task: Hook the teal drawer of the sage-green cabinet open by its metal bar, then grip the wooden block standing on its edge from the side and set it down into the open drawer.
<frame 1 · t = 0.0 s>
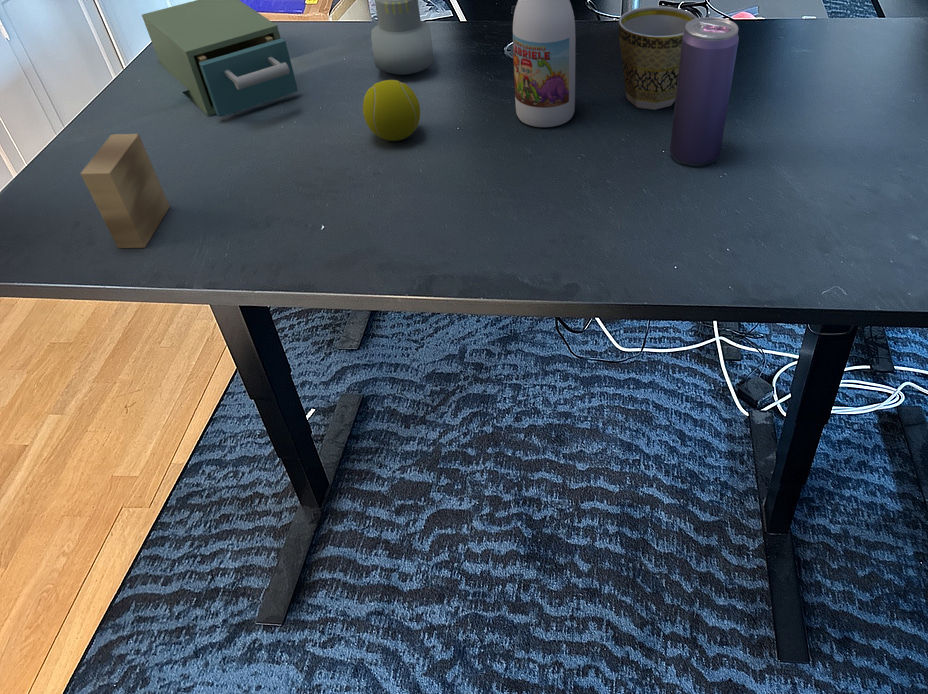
drawer: (235, 65, 104), point 4 cm above the table, slide at 2.0 cm
air freshener: (406, 68, 113), on the table
beverage can: (694, 157, 93), on the table
milk bottle: (545, 116, 101), on the table
cabinet: (227, 82, 111), on the table
wooden block: (144, 227, 86), on the table
ceramic cup: (654, 94, 105), on the table
tennis ball: (396, 138, 98), on the table
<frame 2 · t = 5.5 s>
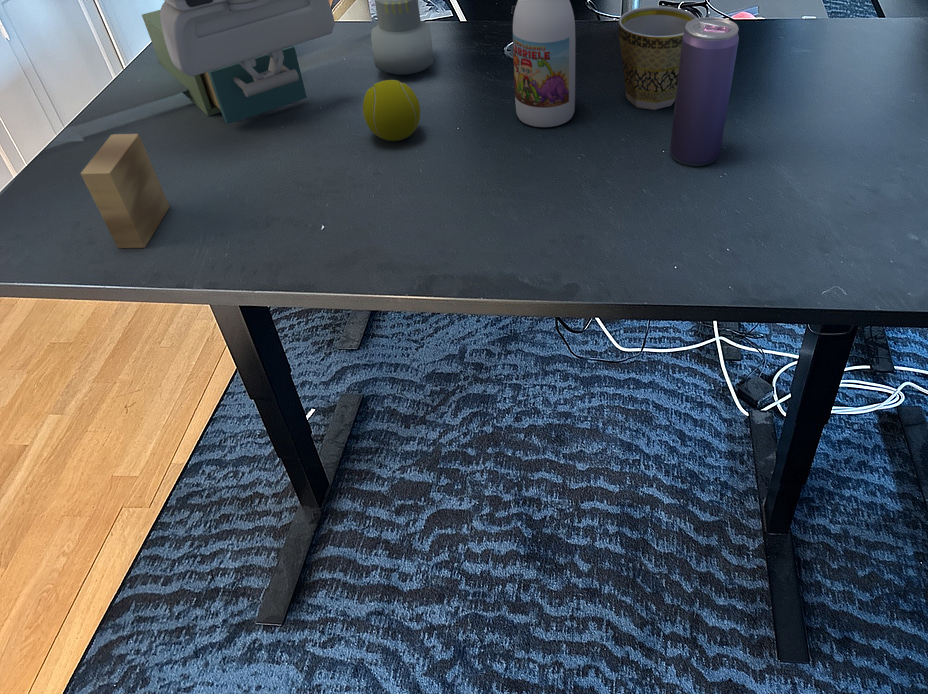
hand: (269, 88, 98), 5 cm above the table, tool pointing down, fingers closed, pressing on drawer
drawer: (244, 72, 103), point 4 cm above the table, slide at 4.7 cm, touching gripper
everything else where it was.
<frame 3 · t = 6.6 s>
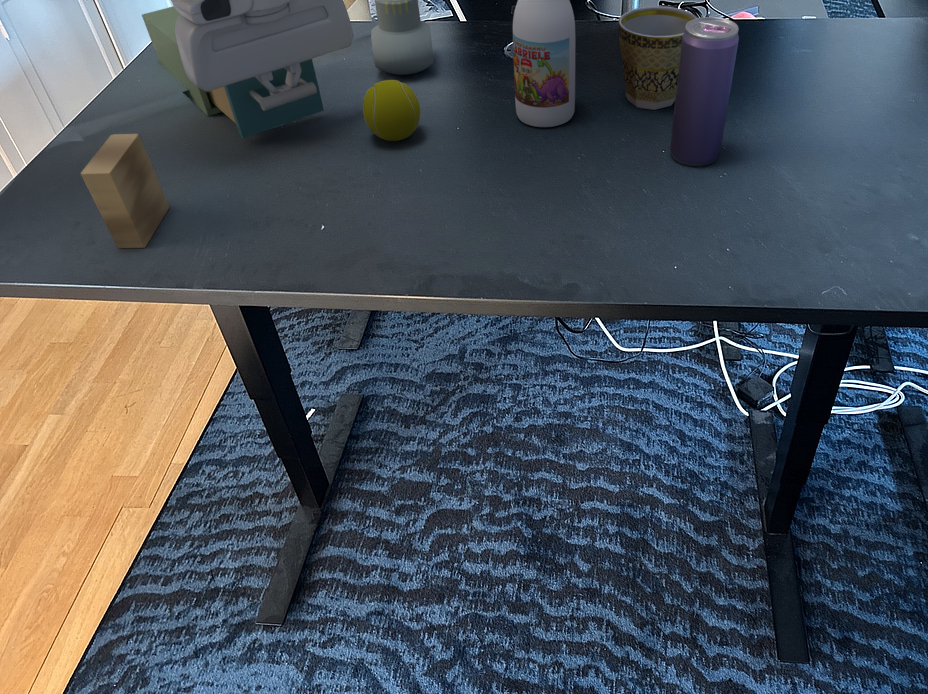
hand: (286, 102, 95), 5 cm above the table, tool pointing down, fingers closed, pressing on drawer
drawer: (259, 84, 100), point 4 cm above the table, slide at 9.6 cm, touching gripper
everything else where it was.
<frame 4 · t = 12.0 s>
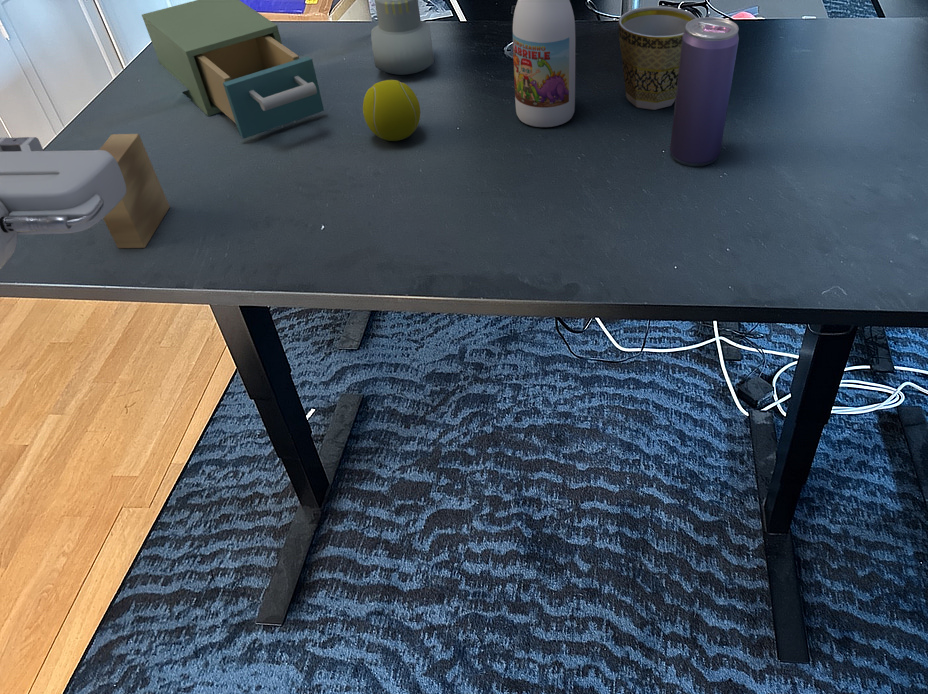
hand: (24, 145, 66), 16 cm above the table, tool horizontal, fingers closed
drawer: (259, 84, 100), point 4 cm above the table, slide at 9.6 cm
everything else where it was.
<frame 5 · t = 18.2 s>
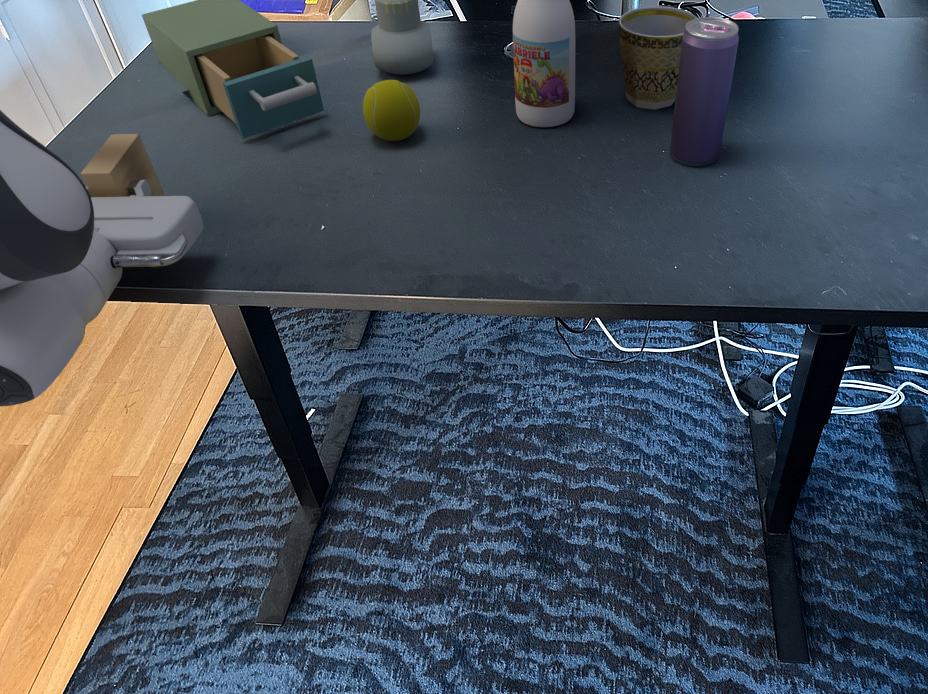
hand: (122, 186, 81), 6 cm above the table, tool horizontal, fingers closed on wooden block, 3 cm apart
wooden block: (144, 227, 86), on the table, touching gripper
everything else where it was.
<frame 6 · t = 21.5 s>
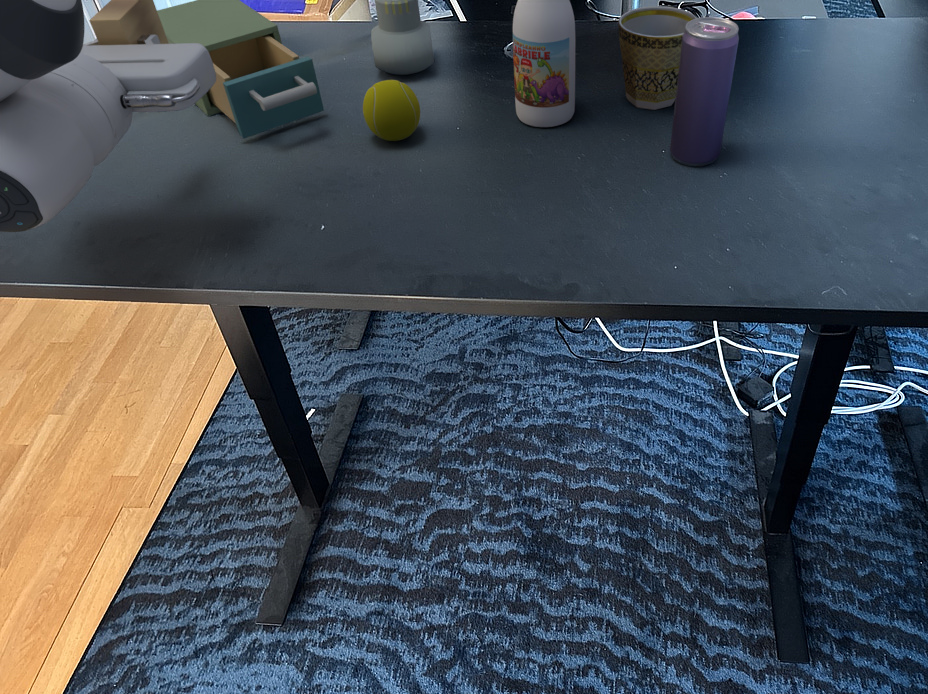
hand: (131, 42, 79), 17 cm above the table, tool horizontal, fingers closed on wooden block, 3 cm apart
wooden block: (155, 92, 83), point 11 cm above the table, touching gripper
everything else where it was.
when the fingers open (13 cm above the table, at t = 25.0 s): wooden block drops 2 cm and tips over, resting on cabinet, drawer.
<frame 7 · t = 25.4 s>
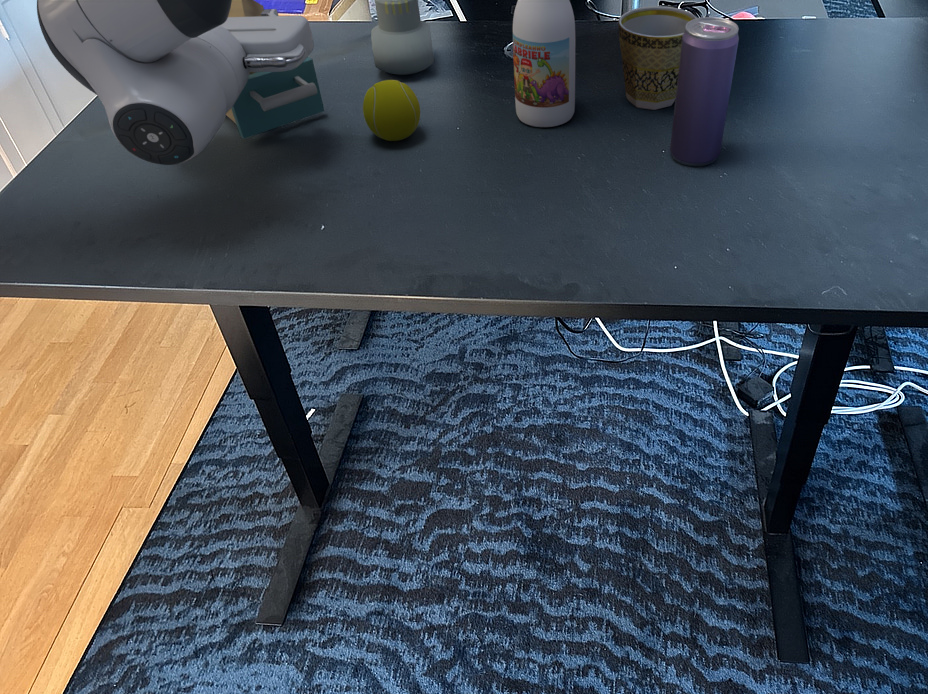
hand: (238, 16, 93), 13 cm above the table, tool horizontal, fingers open, 7 cm apart
drawer: (260, 84, 100), point 4 cm above the table, slide at 9.7 cm, touching wooden block
wooden block: (256, 77, 98), point 6 cm above the table, tilted 31°, touching cabinet, drawer
everything else where it was.
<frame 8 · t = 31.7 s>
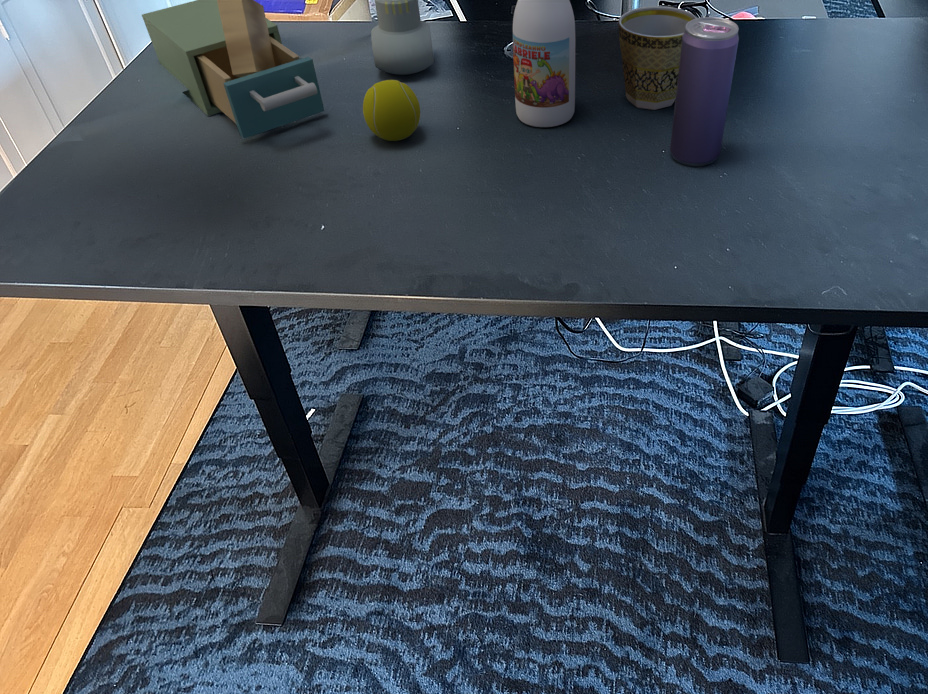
nothing on the table moved.
at the end: drawer slide at 9.7 cm; wooden block inside the target area in the drawer (2.6 cm from its centre), point 5.6 cm above the cabinet's base; the gripper is holding nothing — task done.
